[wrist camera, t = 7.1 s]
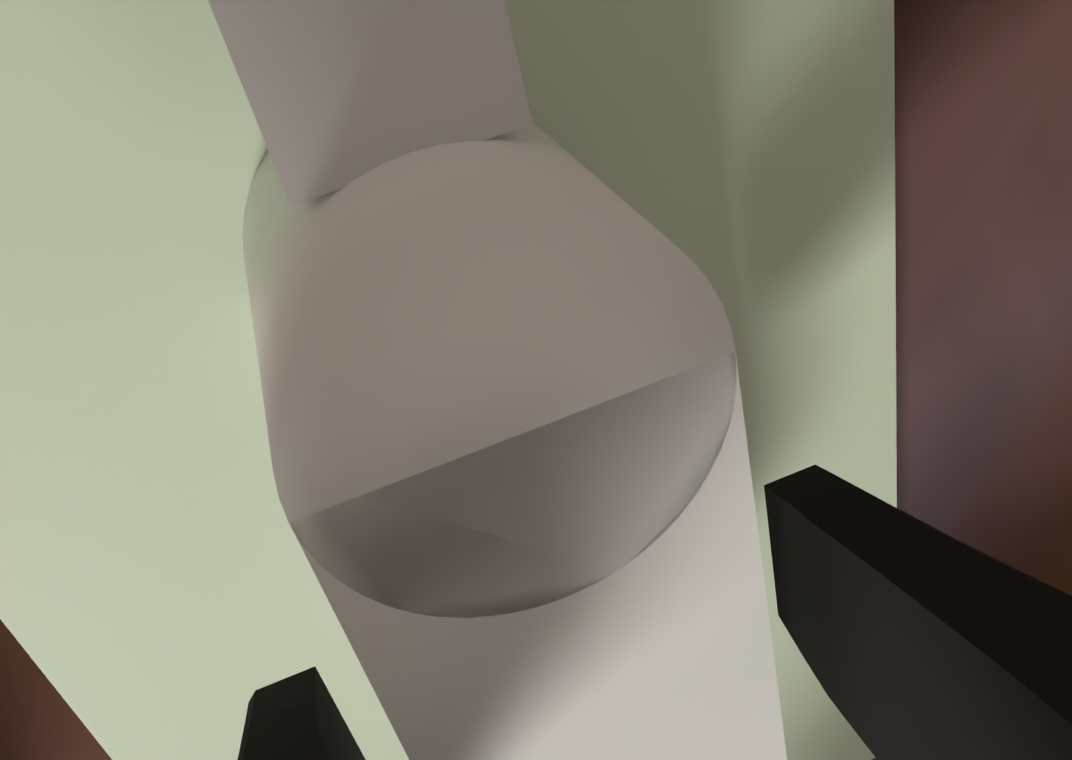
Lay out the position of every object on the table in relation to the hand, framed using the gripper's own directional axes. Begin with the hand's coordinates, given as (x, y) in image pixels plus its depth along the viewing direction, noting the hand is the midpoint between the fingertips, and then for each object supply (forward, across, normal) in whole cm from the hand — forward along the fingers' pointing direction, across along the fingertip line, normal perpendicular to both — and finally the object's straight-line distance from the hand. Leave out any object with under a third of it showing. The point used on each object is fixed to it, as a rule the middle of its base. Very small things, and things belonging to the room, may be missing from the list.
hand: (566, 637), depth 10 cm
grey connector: (+3, 0, -1) cm, 3 cm away
